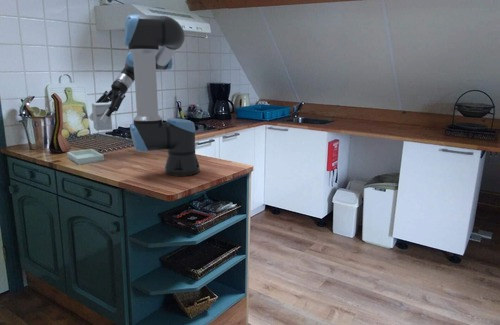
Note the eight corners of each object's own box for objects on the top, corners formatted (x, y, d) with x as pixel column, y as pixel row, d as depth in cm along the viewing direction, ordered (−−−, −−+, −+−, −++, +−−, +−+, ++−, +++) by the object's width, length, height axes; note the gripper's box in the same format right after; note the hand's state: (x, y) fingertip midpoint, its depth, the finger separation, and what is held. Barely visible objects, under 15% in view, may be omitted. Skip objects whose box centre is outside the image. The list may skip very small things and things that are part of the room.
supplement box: (96, 131, 188) (94, 104, 184) (93, 128, 194) (91, 102, 190) (112, 129, 192) (110, 103, 188) (109, 127, 198) (107, 102, 194)
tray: (104, 160, 189) (103, 155, 188) (78, 164, 181) (77, 158, 180) (92, 154, 200) (91, 148, 200) (67, 157, 193) (67, 152, 192)
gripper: (140, 91, 194) (115, 127, 185) (113, 88, 206) (88, 122, 198) (130, 80, 188) (104, 117, 180) (103, 78, 200) (77, 113, 192)
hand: (96, 120), depth 189 cm, fingers closed on supplement box, 9 cm apart
